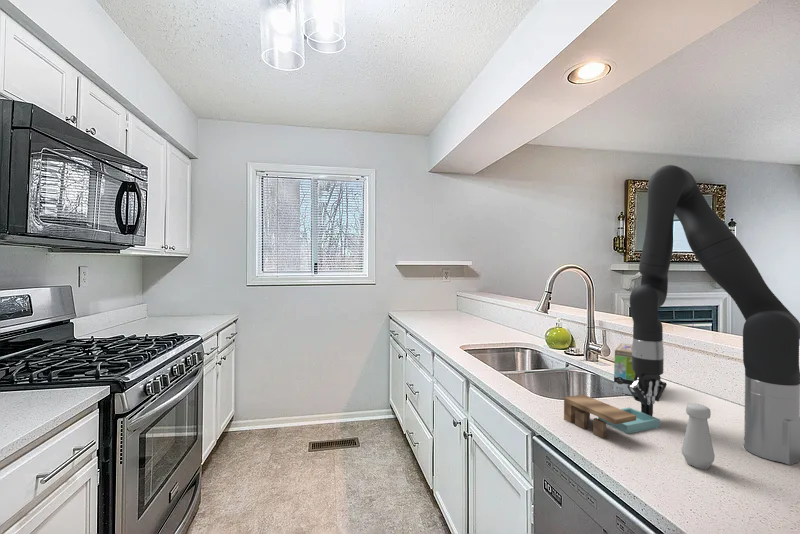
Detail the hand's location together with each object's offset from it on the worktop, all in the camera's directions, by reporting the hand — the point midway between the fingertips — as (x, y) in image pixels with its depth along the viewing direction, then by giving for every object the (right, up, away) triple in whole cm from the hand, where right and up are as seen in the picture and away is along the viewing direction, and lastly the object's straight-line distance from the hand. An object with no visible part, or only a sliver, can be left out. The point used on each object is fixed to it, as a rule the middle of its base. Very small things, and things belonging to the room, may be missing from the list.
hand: (647, 416), depth 109 cm
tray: (-7, -1, -3) cm, 8 cm away
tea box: (+12, -1, +26) cm, 28 cm away
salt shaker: (-4, -1, -24) cm, 25 cm away
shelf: (-17, -1, -7) cm, 19 cm away
